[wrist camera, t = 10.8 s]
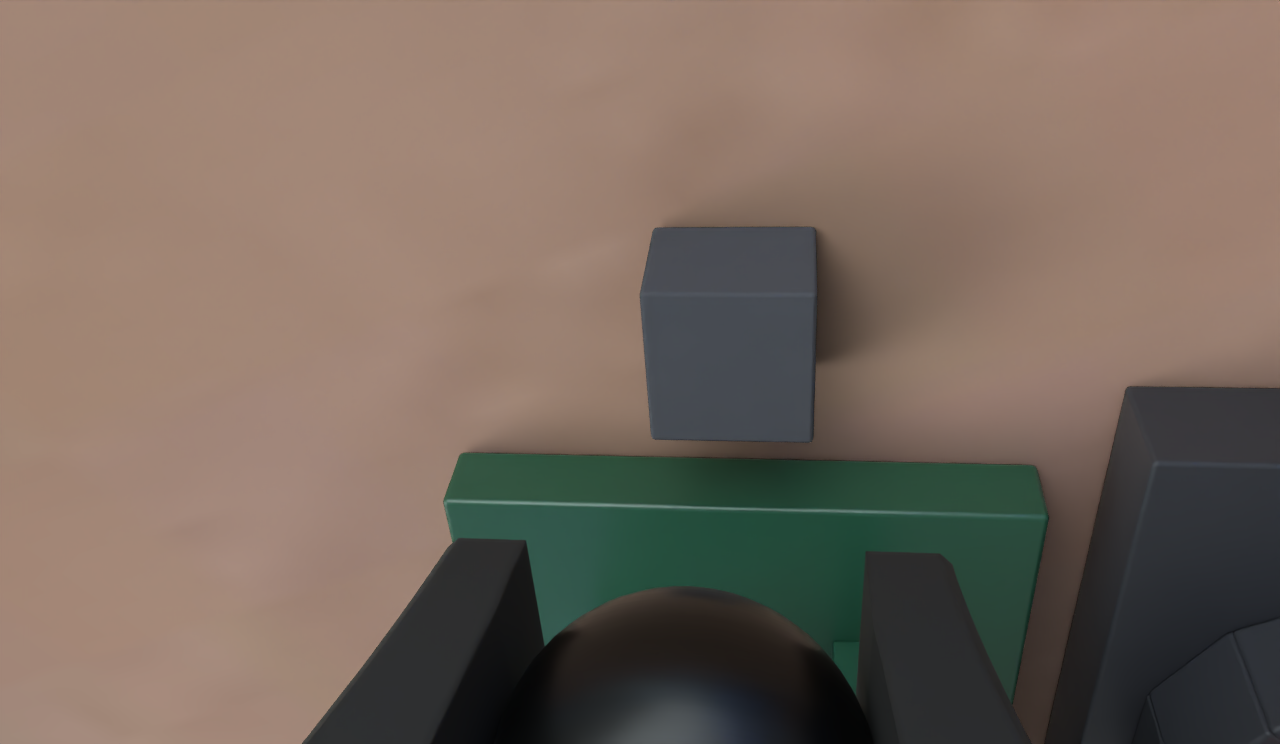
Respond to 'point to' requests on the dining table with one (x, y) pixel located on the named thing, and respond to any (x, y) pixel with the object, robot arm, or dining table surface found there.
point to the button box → (1181, 578)
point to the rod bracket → (761, 534)
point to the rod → (683, 678)
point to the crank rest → (731, 333)
